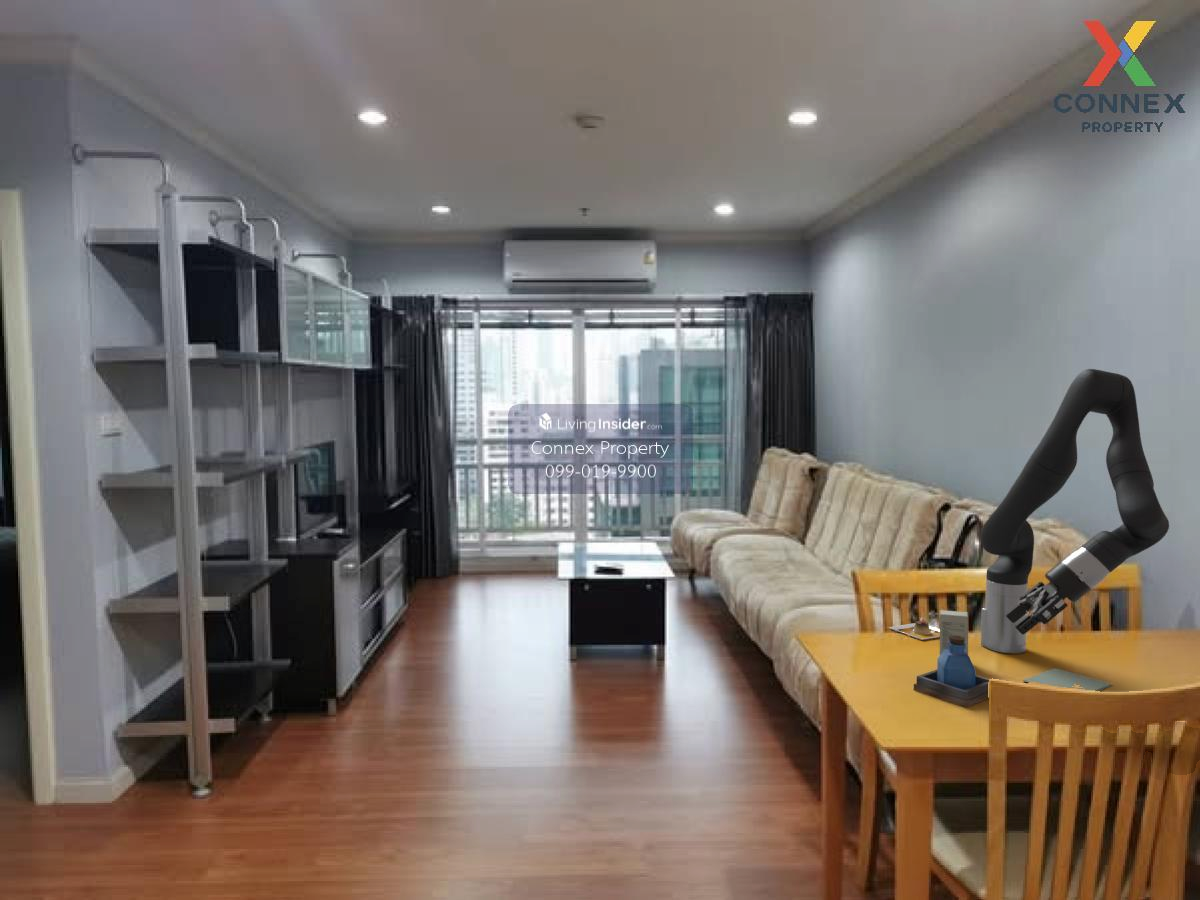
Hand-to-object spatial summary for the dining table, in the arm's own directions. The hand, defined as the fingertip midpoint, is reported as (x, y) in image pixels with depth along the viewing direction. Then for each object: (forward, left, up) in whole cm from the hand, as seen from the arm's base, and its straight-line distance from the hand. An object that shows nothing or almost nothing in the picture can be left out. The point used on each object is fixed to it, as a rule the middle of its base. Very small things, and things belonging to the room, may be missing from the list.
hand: (1013, 625), depth 165 cm
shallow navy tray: (-8, -7, -15) cm, 19 cm away
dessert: (-38, +26, -16) cm, 49 cm away
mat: (+3, +18, -15) cm, 24 cm away
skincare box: (-19, +10, -16) cm, 27 cm away
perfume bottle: (-8, -7, -16) cm, 19 cm away
